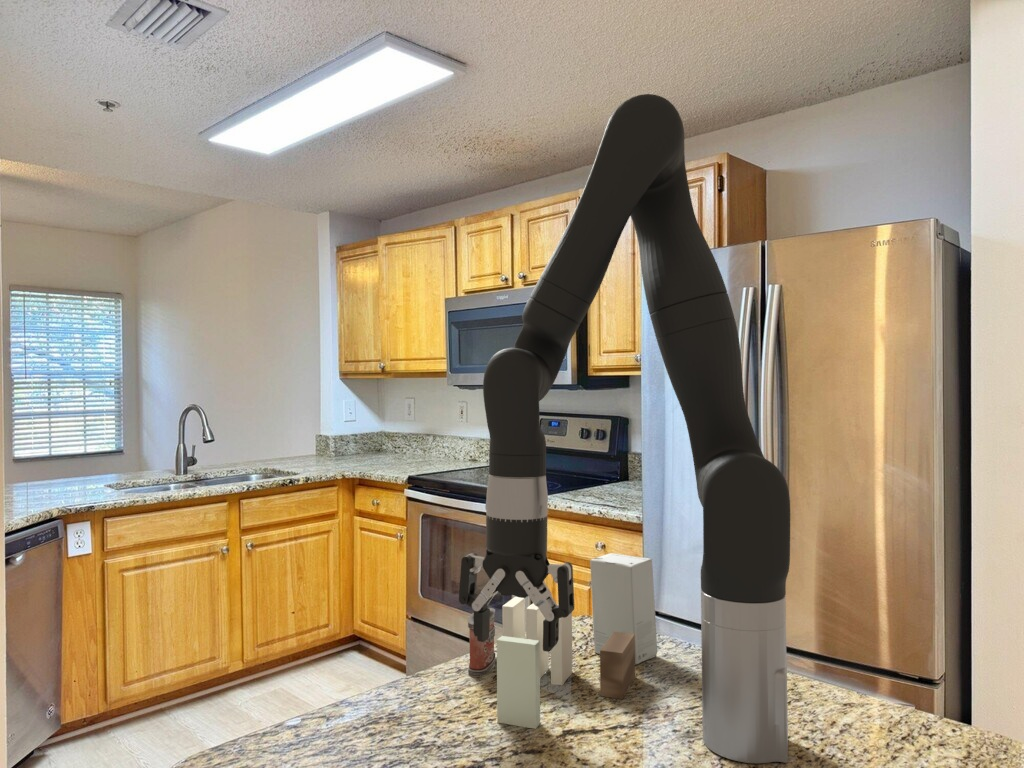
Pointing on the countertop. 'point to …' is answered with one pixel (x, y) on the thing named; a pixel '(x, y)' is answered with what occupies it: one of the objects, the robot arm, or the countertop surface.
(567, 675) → the domino
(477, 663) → the lighter
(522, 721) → the domino
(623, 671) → the block
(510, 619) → the domino
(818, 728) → the countertop surface
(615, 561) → the skincare box
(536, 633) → the domino
